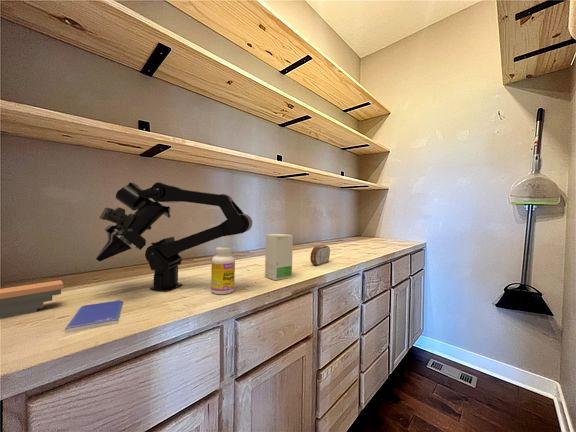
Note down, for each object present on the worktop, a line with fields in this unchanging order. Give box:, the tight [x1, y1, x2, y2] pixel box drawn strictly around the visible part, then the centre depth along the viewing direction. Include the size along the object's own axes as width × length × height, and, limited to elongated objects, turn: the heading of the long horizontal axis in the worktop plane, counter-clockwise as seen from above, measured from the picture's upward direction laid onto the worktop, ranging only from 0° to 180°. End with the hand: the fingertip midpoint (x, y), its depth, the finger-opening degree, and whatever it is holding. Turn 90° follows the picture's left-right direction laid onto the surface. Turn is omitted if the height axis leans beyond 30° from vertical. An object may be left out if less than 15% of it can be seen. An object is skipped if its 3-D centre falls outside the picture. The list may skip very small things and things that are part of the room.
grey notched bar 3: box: [0, 296, 53, 310], centre depth 54 cm, size 1×4×10 cm
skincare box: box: [264, 233, 294, 281], centre depth 87 cm, size 8×7×16 cm
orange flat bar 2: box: [0, 289, 62, 305], centre depth 55 cm, size 1×4×10 cm
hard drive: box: [64, 300, 124, 334], centre depth 53 cm, size 2×8×12 cm
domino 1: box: [0, 279, 64, 299], centre depth 55 cm, size 1×4×10 cm
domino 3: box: [0, 302, 45, 315], centre depth 53 cm, size 1×4×10 cm
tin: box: [309, 244, 331, 266], centre depth 111 cm, size 15×3×8 cm, turn 144°
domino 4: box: [0, 309, 38, 320], centre depth 53 cm, size 1×4×10 cm
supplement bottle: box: [210, 246, 236, 295], centre depth 71 cm, size 7×7×13 cm
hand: (97, 260), depth 63 cm, fingers closed
